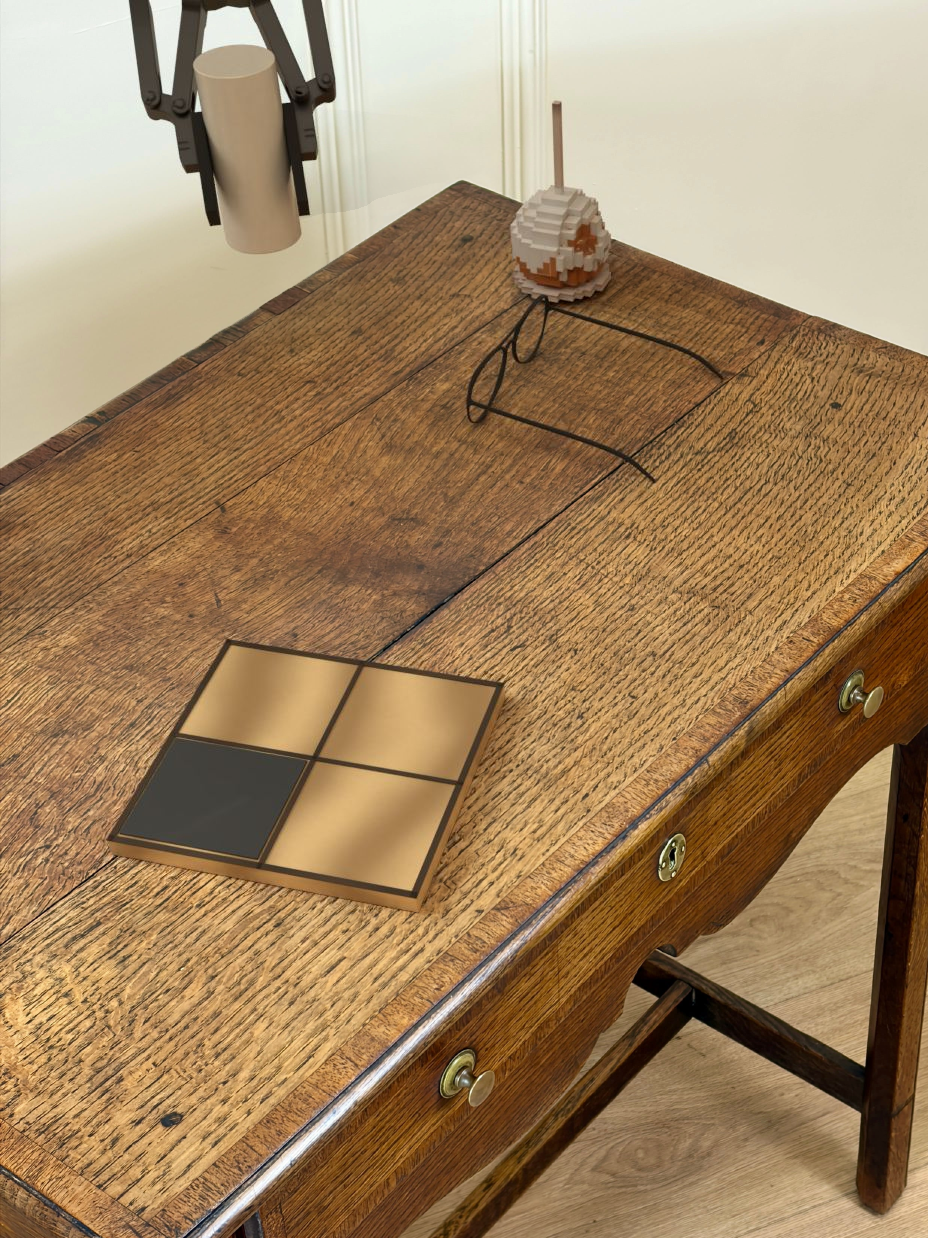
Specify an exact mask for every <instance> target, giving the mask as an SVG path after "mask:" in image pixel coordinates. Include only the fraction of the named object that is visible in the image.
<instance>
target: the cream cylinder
mask: <svg viewBox="0 0 928 1238" xmlns="http://www.w3.org/2000/svg"><path fill="white" fill-rule="evenodd" d="M193 69H194V74H195V79H196V85H197V96H198V100H199V104H200V105H199V106H200V110H201V111H202V116H203V121H204V126H205V131H206V137H207V142H208V147H209V152H210V158H211V163H212V168H213V174H214V180H215V187H216V193H217V200H218V207H219V212H220V217H221V220H222V221H221V222H222V226H223V232H224V235H225V236H224V237H225V241H226V244H227V245H228V247H230V248H231V249H232V250H234V251H236V252H239V253H242V254H246V255H247V254H248V255H268V254H273V253H278V252H281V251H284V250H286V249H288V248H290V247H293V246H294V245H295V244H296V243H297V242H298V241H299V240H300V239H301V236H302V233H303V232H302V224H301V218H300V216H299V213H298V207H297V200H296V194H295V187H294V181H293V174H292V168H291V161H290V155H289V148H288V141H287V135H286V128H285V122H284V115H283V109H282V103H283V101H282V94H281V88H280V80H279V75H278V73H277V67H276V61H275V56H274V54H273V53H272V52H271V51H270V50H268V49H267V47H263V46H259V45H254V44H229V45H223V46H218V47H214V48H212V49H209V50H206V51H204V52H202V54H201V55H199V56H198V57H197V58H196V59H195V60H194V63H193ZM201 111H200V112H201Z"/></svg>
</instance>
